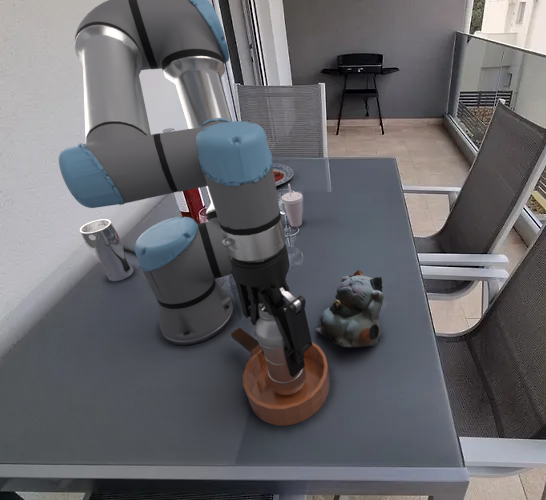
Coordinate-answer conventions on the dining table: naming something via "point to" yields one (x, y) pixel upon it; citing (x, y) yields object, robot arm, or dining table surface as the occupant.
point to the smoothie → (293, 207)
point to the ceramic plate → (281, 173)
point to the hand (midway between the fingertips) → (283, 359)
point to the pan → (287, 406)
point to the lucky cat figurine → (354, 312)
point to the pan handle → (246, 341)
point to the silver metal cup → (107, 248)
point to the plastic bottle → (276, 355)
